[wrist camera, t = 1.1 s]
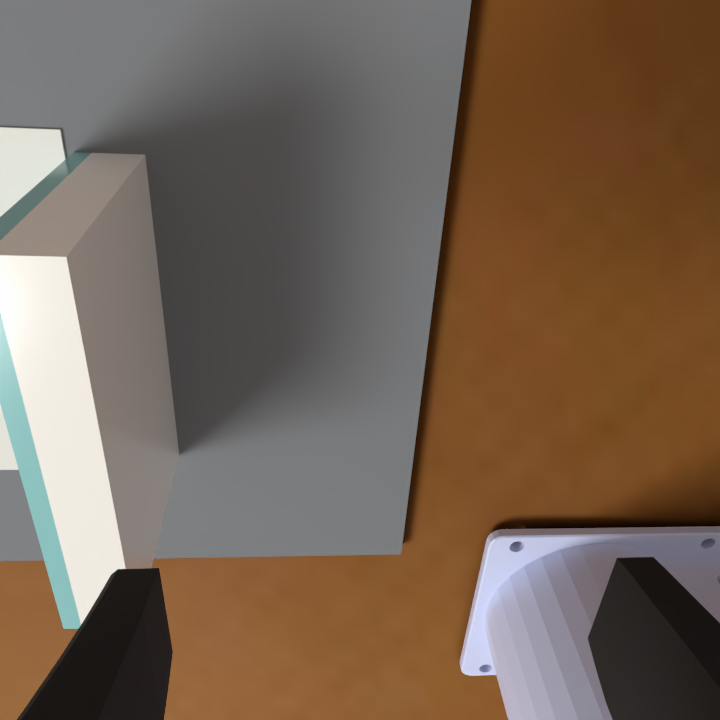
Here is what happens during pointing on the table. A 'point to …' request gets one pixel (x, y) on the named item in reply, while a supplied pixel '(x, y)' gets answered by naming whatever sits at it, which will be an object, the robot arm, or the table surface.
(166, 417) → the tile
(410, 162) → the mat
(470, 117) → the table surface
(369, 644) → the table surface
